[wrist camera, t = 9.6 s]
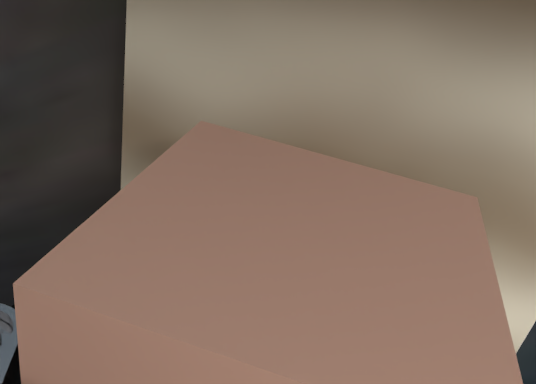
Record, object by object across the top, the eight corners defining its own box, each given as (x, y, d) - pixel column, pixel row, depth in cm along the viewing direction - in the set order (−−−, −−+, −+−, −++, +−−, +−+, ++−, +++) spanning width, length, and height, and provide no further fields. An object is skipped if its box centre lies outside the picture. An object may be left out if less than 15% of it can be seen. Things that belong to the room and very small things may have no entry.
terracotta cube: (200, 120, 11) (12, 283, 6) (477, 197, 10) (542, 465, 5) (175, 321, 14) (34, 548, 9) (388, 393, 13) (373, 690, 8)
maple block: (189, -129, 17) (131, -144, 13) (666, -35, 15) (742, -24, 11) (159, 234, 24) (117, 284, 21) (474, 332, 22) (484, 406, 19)
